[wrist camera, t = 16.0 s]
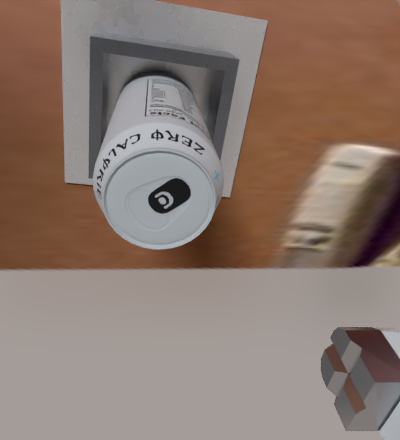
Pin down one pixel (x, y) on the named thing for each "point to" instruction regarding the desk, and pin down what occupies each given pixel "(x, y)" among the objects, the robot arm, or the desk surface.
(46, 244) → the desk surface
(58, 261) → the desk surface
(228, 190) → the socket
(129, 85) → the energy drink can
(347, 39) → the desk surface
